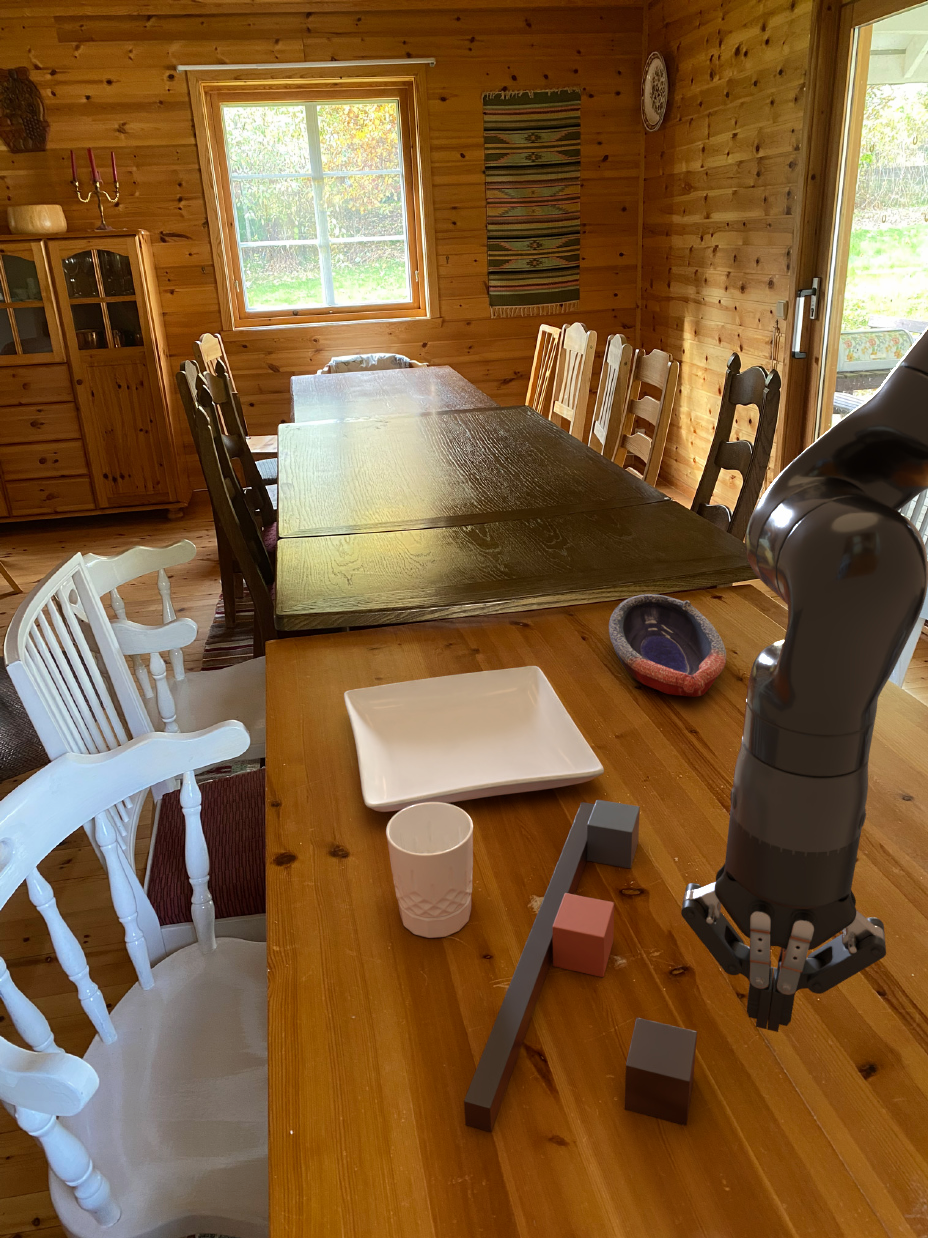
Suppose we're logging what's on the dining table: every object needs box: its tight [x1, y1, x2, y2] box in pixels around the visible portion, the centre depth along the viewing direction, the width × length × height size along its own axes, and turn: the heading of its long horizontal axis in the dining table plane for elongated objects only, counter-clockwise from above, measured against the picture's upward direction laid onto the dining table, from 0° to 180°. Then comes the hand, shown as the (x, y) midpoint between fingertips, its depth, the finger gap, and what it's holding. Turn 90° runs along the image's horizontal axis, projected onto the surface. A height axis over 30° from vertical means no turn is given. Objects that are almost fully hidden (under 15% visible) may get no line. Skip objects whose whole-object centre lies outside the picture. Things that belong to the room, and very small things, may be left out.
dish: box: [608, 593, 727, 697], centre depth 132 cm, size 16×31×5 cm, turn 179°
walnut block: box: [623, 1017, 698, 1126], centre depth 68 cm, size 4×4×4 cm
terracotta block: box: [552, 893, 615, 978], centre depth 81 cm, size 4×4×4 cm
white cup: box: [385, 802, 474, 939], centre depth 85 cm, size 8×8×10 cm
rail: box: [463, 801, 595, 1133], centre depth 82 cm, size 2×38×2 cm, turn 160°
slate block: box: [586, 799, 641, 870], centre depth 93 cm, size 4×4×4 cm
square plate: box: [343, 665, 605, 813], centre depth 112 cm, size 27×27×4 cm
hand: (766, 1020), depth 62 cm, fingers closed
